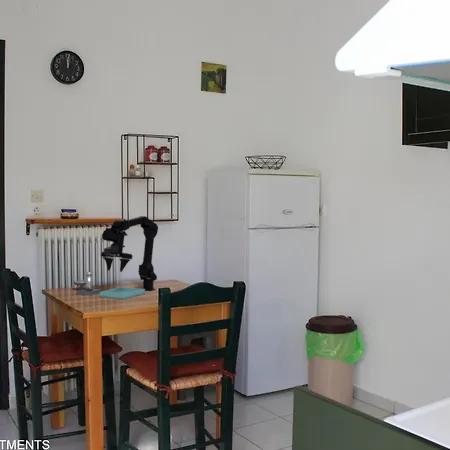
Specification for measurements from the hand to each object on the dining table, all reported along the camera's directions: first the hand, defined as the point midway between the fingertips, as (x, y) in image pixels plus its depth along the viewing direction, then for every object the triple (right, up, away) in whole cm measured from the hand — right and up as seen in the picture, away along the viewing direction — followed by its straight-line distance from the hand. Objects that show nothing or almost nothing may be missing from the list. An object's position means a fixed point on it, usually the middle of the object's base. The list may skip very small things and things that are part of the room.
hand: (114, 271), depth 313 cm
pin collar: (-16, -13, +9) cm, 23 cm away
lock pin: (-16, -13, +9) cm, 23 cm away
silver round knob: (-24, -13, +23) cm, 36 cm away
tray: (+4, -14, +2) cm, 14 cm away
